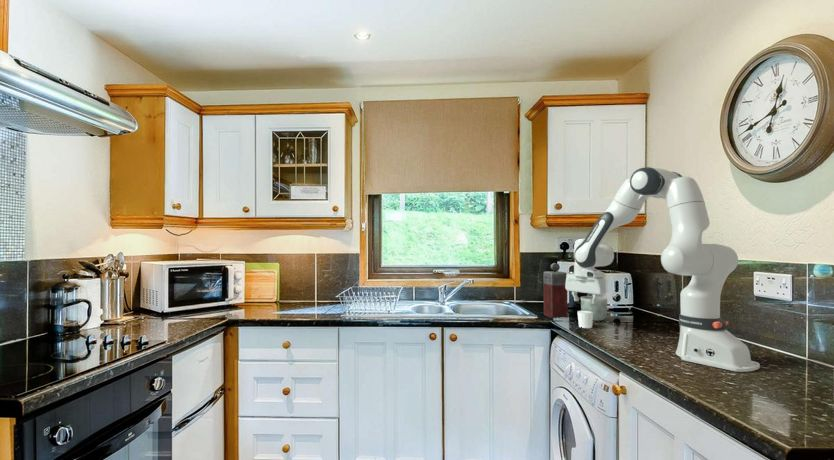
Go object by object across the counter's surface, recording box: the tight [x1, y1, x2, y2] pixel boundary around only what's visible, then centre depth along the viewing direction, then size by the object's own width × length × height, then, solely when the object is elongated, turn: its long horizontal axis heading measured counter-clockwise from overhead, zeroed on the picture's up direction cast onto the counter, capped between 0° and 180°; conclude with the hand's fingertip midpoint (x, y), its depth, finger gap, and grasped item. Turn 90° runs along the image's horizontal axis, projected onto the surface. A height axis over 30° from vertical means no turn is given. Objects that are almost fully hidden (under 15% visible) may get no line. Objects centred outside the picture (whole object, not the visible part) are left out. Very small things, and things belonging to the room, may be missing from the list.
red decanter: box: [543, 262, 568, 319], centre depth 208 cm, size 9×11×28 cm
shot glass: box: [577, 310, 594, 329], centre depth 181 cm, size 7×7×7 cm
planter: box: [580, 295, 608, 322], centre depth 198 cm, size 12×12×11 cm
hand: (584, 302), depth 181 cm, fingers open, 8 cm apart
